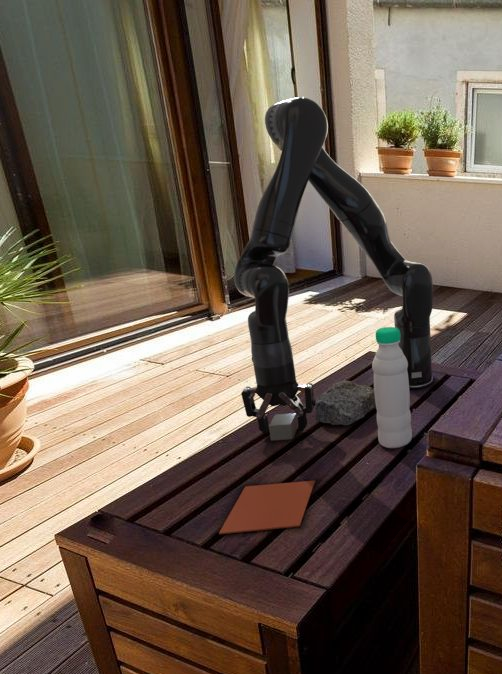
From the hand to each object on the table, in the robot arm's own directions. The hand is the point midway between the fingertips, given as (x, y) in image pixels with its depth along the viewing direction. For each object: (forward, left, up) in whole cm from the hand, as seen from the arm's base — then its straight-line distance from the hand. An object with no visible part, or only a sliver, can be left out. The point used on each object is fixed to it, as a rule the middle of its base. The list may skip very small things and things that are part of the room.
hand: (284, 430), depth 102 cm
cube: (0, 0, -1) cm, 1 cm away
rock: (-8, +12, -1) cm, 15 cm away
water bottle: (+6, +24, -1) cm, 25 cm away
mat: (+25, +4, -1) cm, 25 cm away
